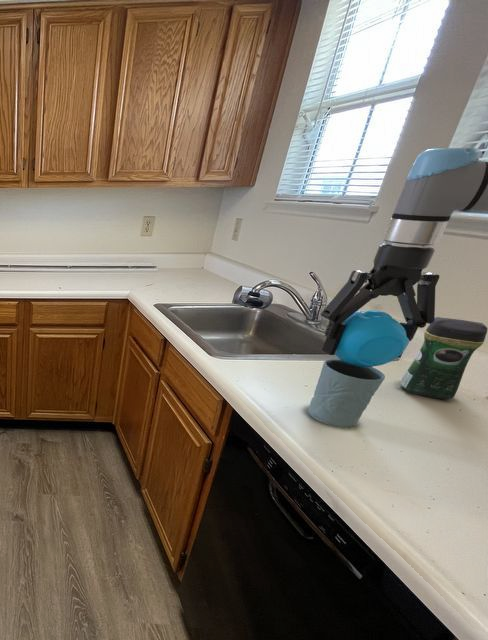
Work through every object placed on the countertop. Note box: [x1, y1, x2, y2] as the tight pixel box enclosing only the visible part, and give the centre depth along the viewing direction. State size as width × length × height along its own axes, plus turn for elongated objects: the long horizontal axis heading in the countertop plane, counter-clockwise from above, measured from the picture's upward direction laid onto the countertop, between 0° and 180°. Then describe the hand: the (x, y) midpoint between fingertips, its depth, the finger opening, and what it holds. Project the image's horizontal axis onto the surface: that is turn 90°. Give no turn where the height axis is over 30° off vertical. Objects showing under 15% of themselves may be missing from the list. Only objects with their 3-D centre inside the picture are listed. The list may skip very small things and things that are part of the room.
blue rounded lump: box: [334, 309, 410, 368], centre depth 84 cm, size 12×11×12 cm
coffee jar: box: [400, 316, 488, 400], centre depth 99 cm, size 10×8×19 cm
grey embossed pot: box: [307, 358, 386, 428], centre depth 89 cm, size 10×10×12 cm
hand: (360, 354), depth 85 cm, fingers closed on blue rounded lump, 12 cm apart
